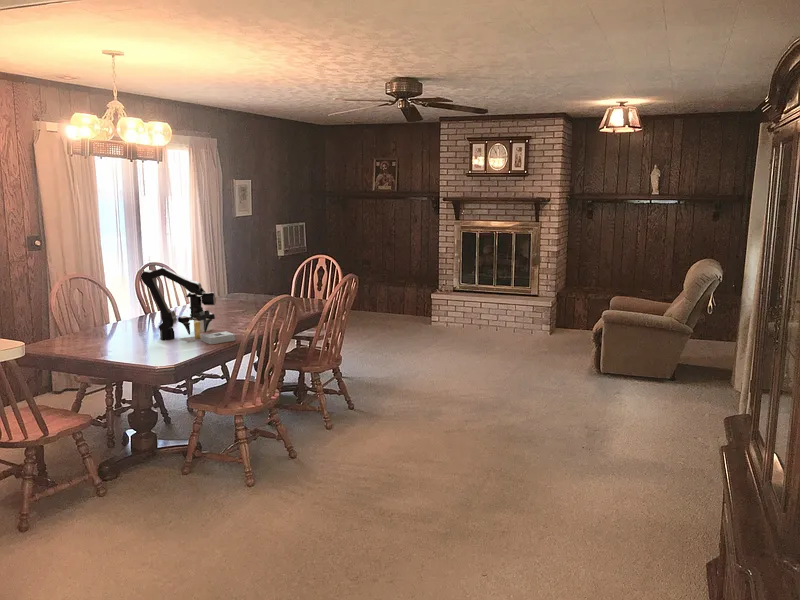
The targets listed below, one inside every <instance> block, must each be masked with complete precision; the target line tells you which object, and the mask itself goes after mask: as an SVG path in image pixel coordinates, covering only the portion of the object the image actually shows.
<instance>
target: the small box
mask: <svg viewBox="0 0 800 600" xmlns="http://www.w3.org/2000/svg"><path fill="white" fill-rule="evenodd" d="M194 322H200V332H201V333H203V332H204V323H203V320H201V321H198V320H193V323H194ZM210 331H212V321H210V322H209V324H208V327H207V330H206V332H204V333H207V332H210Z"/></svg>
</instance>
